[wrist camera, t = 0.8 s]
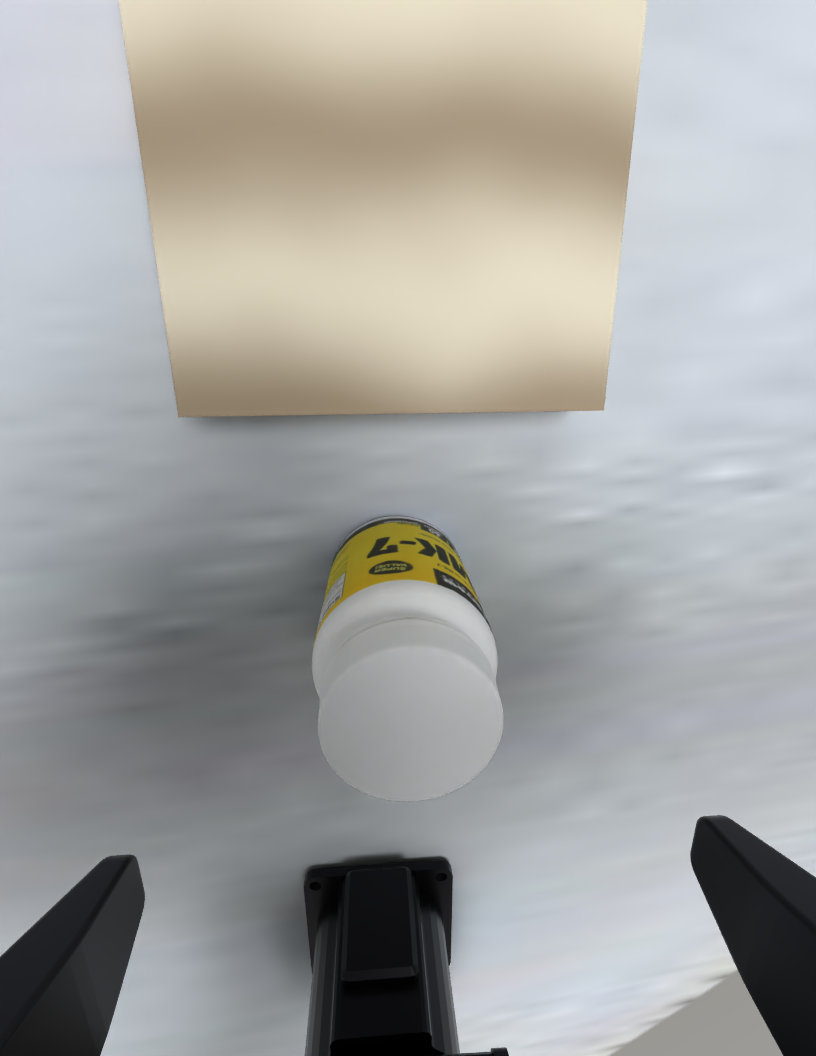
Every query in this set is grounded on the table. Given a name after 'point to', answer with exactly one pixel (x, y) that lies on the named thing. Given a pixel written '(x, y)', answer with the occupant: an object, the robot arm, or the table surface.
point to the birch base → (386, 199)
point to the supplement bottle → (404, 665)
